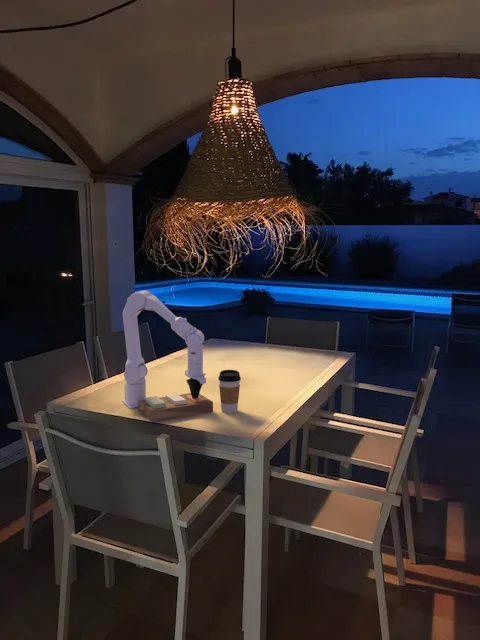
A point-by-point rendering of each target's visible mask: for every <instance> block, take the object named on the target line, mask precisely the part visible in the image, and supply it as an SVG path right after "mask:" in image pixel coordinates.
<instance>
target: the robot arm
mask: <svg viewBox="0 0 480 640" xmlns="http://www.w3.org/2000/svg"><path fill="white" fill-rule="evenodd" d="M144 310H146V311H154V312H155V313H157V315H159V316H160V317H162V318H163V319H164V320H165V321H167V323H169V324H170V327H171V328H170V329H172V331H174V332H175V333H176V334H177V335H178V336H179V337H180V338H182V339H183V340H184V341H185V344H186V345H187V369H185V370H184V376H186V377H187V378H188V379H186V380H185V381H186V383H187V384H188V388H189V392H190V393H191V396H192V398H193V399H195V398H198V397H199V394H201V393H200V391H201V389H202V386H203V385H204V384H207V378H206V377H205V376H206V375H207V373H206V372H204V371H203V370H204V369H203V368H204V366H203V365H204V360H203V358H204V355H203V354H204V350H203V348H204V347H203V346H204V345H203V343H204V341H205V335H204V333H203V332H202V331H201V330H200V329H197V328H196V327H195V326H193V325H191V323H189V322H188V319H187V317H182V316H176V315H175V314H174V313H173V312H172V311H171V310H169V308H168V307H167V306H166V305H165V304H164V303H163V302H161V301H160V300H159V298H158V297H157V296H156V295H154V294H152V293H151V292H150V291H149V290H141V291H137V292H133V293H132V294H131V295H130V296H128V297H127V299H126V303H125V306H124V308H123V310H122V323H123V330H124V331H123V332H124V338H125V339H124V340H125V348H126V357H127V359H126V362H125V365H124V367H125V370H124V373H123V378H124V380H125V383H124V386H123V387H124V399H123V400H122V401H121V402H122V403H123V404H124V405H125V406H127V407H128V408H129V409H134V408H138V401H139V400H145V398H147V394H146V393H147V392H146V391H147V390H146V389H147V387H146V386H147V385H146V384H147V382H146V378H145V377H147V374H148V366H147V365H146V364H145V359H144V357H143V355H142V351H141V349H142V348H141V342H140V341H141V340H140V333H139V332H140V331H139V324H138V323H139V322H138V315H139V314H140V313H142V311H144Z"/></svg>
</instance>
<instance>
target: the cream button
mask: <svg viewBox="0 0 480 640" xmlns="http://www.w3.org/2000/svg"><path fill="white" fill-rule="evenodd" d="M180 395H181V394H178V393H170V394H165V395H164V397H166V400H167V401H169V402H170V403H171V404H173V405H174V406H175V405H182V404H186V399H184V398H183V397H181V396H180Z"/></svg>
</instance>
